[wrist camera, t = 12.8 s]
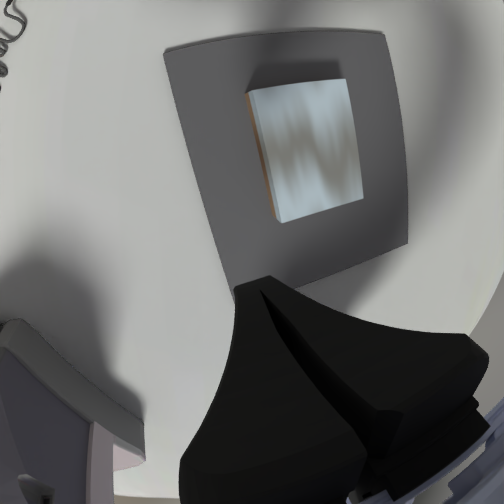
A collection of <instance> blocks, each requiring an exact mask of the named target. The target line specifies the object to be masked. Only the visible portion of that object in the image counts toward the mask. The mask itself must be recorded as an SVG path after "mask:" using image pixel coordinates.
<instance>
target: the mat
mask: <svg viewBox="0 0 504 504" xmlns="http://www.w3.org/2000/svg"><path fill="white" fill-rule="evenodd" d="M163 57H164V61H165V65H166V69H167V73H168V77H169V81H170V85H171V89H172V93H173V96H174V100H175V104H176V108H177V112H178V115H179V119H180V123H181V127H182V130H183V134H184V138H185V141H186V145H187V148H188V152H189V156H190V159H191V163H192V166H193V170H194V173H195V177H196V180H197V184H198V187H199V191H200V194H201V197H202V201H203V204H204V207H205V211H206V214H207V217H208V221H209V224H210V227H211V231H212V234H213V237H214V240H215V244H216V247H217V250H218V253H219V257H220V260H221V263H222V266H223V269H224V272H225V275H226V279H227V282H228V285H229V288H230V291H231V294H232V297H233V300H234V303H235V296H234V292H233V289H234V287H235V286H237V285H240V284H243V283H246V282H249V281H253V280H256V279H259V278H262V277H265V276H268V275H271V276H273V277H274V278H276V279H278V280H279V281H281V282H282V283H284V284H286V285H287V286H289V287H291V288H292V289H294V288H297V287H300V286H302V285H305V284H308V283H311V282H313V281H316V280H318V279H321V278H324V277H326V276H329V275H332V274H334V273H337V272H339V271H342V270H344V269H347V268H349V267H352V266H354V265H357V264H359V263H362V262H364V261H367V260H369V259H372V258H374V257H377V256H379V255H382V254H384V253H386V252H389V251H391V250H393V249H396V248H398V247H401V246H403V245H405V244H408V186H407V168H406V155H405V144H404V135H403V126H402V118H401V111H400V105H399V98H398V93H397V87H396V82H395V77H394V72H393V67H392V62H391V58H390V54H389V50H388V46H387V42H386V38H385V34H375V33H363V32H345V31H301V32H283V33H271V34H261V35H252V36H244V37H237V38H231V39H225V40H219V41H214V42H209V43H204V44H199V45H195V46H190V47H186V48H182V49H178V50H174V51H170V52H167V53H163ZM334 79H346V83H347V88H348V93H349V98H350V103H351V109H352V114H353V120H354V126H355V132H356V139H357V146H358V153H359V161H360V169H361V178H362V188H363V199H360V200H356V201H353V202H350V203H346V204H343V205H340V206H337V207H333V208H330V209H327V210H323V211H320V212H317V213H314V214H310V215H307V216H304V217H301V218H297V219H294V220H291V221H288V222H285V223H281V222H280V221H278V220H277V219H276V218H275V217H274V216H273V215H272V212H271V207H270V202H269V198H268V193H267V189H266V184H265V180H264V175H263V171H262V166H261V162H260V157H259V153H258V149H257V144H256V140H255V136H254V131H253V127H252V123H251V119H250V115H249V111H248V106H247V102H246V98H245V94H246V93H248V92H250V91H252V90H257V89H263V88H268V87H275V86H281V85H288V84H295V83H303V82H312V81H322V80H334Z"/></svg>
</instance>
